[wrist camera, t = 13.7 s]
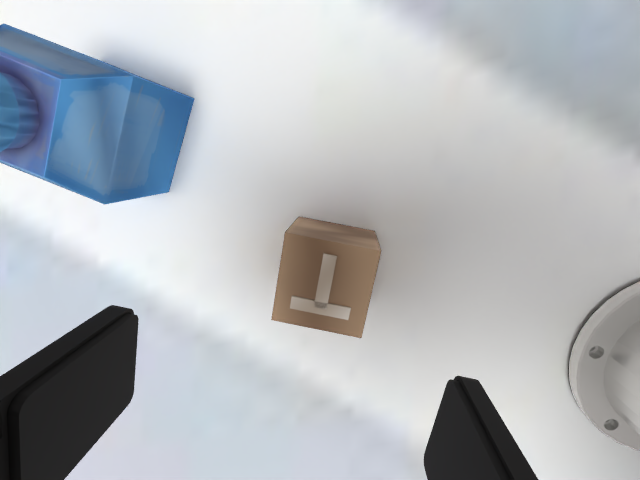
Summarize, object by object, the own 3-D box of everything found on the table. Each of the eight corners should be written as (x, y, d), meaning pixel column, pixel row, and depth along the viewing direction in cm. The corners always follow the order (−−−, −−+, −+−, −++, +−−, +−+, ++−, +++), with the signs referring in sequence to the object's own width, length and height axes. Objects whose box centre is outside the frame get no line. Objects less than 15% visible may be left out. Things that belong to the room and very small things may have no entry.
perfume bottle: (168, 191, 23) (-17, 227, 11) (81, 156, 23) (-195, 156, 11) (194, 98, 21) (10, 29, 10) (101, 61, 21) (-195, -53, 10)
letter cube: (374, 230, 22) (381, 251, 18) (358, 301, 24) (361, 339, 19) (299, 216, 23) (284, 232, 18) (287, 286, 24) (271, 320, 19)
